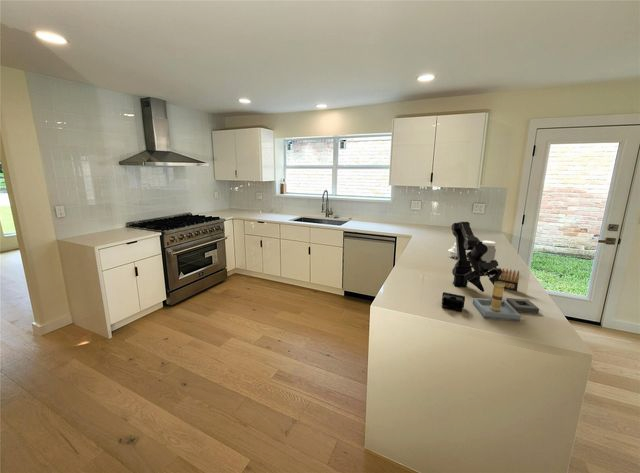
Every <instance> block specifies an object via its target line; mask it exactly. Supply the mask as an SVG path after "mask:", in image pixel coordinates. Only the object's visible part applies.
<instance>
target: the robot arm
mask: <svg viewBox="0 0 640 473" xmlns="http://www.w3.org/2000/svg"><path fill="white" fill-rule="evenodd" d="M472 230H473V229H472V228H471V223H470V222H469V221H459V222H453V223H452V225H451V231H452V234H453V236H454V237H455V242H456V244H457V256H456V257H457V261H456V262H455V265H454V267H453V269H452V270H451V271H452V272H451V273H452V275H453V276H454V277H453V281H452V284H453V285H454V287H456V288H468V283H470V284H472V285H473V286H475V288H477V289H478V290H480V291H481V292H482V293H483V292H485V288H484V286H483V284H482V282H481V277H488V280H489V281H490V282H491V284H492V285H493V286H494V282H495V281H499V276H500V275H501V273H503V272H502V270H503V269H502V268H501V269H499V268H500V267H499V263H498V261H497V259H494V260H491V262H489V263H487V262H486V261H483V260H482V258H481V257H483V255H484V254H485V253H486V252H487V251H488V248H487V246H486V245H485V244H483V243H482V240H480V239H479V238H478V237H476V235H475V234H474V232H473V231H472ZM467 251H469V252H467ZM497 267H498V268H497ZM500 277H501V276H500Z"/></svg>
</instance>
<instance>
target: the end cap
mask: <svg viewBox="0 0 640 473" xmlns="http://www.w3.org/2000/svg"><path fill="white" fill-rule="evenodd" d="M465 301H466V296H465V295H460V294H455V293H451V292H446V291H443V292H442V297H441V309H443V310H447V311H451V312H457V313H463V309H464V308H465Z"/></svg>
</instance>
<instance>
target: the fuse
mask: <svg viewBox="0 0 640 473" xmlns="http://www.w3.org/2000/svg"><path fill="white" fill-rule="evenodd" d="M504 286H505V283H504V282H501V281H495V282H494V285H493V289H492V290H493V291H492V296H491V299H492V301H491V306H490V310H492V311H494V312H500V309H501V302H502V300H503V297H504V292H505V291H504V290H505V289H504Z"/></svg>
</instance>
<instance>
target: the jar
mask: <svg viewBox="0 0 640 473" xmlns="http://www.w3.org/2000/svg"><path fill="white" fill-rule="evenodd" d="M481 242H482V243H483V244H485V245H486V246H487V248H488V251H487V252H486V253H485V254H484V255H483V257H481V258H482V260H483V261H486V262H487V263H489V262H491V260H496V259H495V257H496V250H497V249H496V245H497V243H496V241H493V240H486V239H485V240H481Z"/></svg>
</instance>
